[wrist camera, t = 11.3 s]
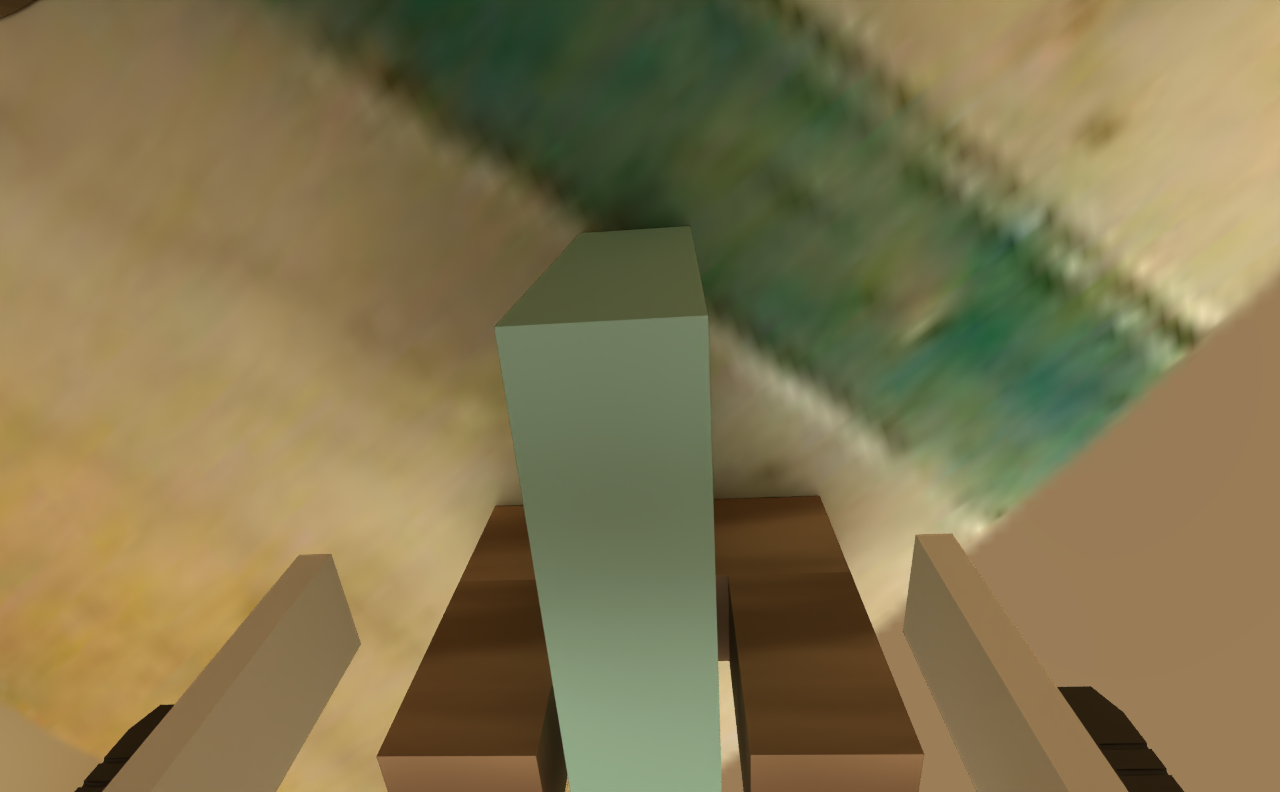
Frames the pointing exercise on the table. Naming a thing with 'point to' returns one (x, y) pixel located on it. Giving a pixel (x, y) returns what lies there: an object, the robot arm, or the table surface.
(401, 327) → the table surface
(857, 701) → the walnut slotted plate
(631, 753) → the teal slotted plate
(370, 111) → the table surface
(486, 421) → the table surface
